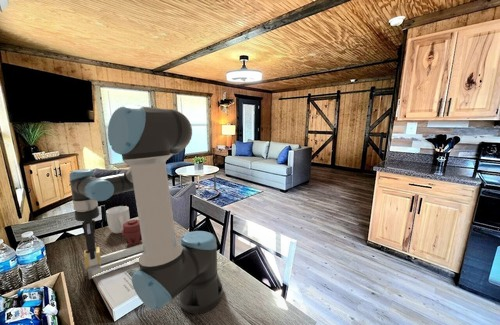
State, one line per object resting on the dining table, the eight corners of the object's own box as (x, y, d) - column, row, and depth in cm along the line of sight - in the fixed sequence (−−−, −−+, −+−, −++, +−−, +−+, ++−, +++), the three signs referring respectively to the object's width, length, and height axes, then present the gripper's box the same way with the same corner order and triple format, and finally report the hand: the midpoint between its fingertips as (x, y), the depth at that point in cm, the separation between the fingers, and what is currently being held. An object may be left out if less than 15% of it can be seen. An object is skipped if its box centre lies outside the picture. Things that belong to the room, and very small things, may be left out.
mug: (135, 233, 118) (133, 211, 116) (112, 240, 110) (109, 217, 108) (127, 224, 128) (125, 204, 126) (106, 230, 121) (104, 209, 119)
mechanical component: (131, 238, 113) (149, 239, 112) (118, 248, 103) (137, 249, 102) (129, 216, 111) (147, 217, 110) (115, 225, 101) (135, 226, 100)
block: (101, 263, 86) (99, 252, 85) (85, 268, 83) (84, 256, 82) (100, 257, 90) (99, 246, 89) (86, 261, 87) (84, 250, 86)
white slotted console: (147, 259, 94) (146, 251, 94) (89, 279, 82) (87, 270, 81) (142, 249, 102) (142, 242, 101) (89, 266, 89) (87, 258, 89)
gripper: (99, 213, 77) (105, 269, 81) (97, 200, 92) (103, 248, 95) (72, 218, 73) (81, 277, 77) (75, 203, 87) (82, 254, 91)
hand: (93, 261), depth 86 cm, fingers closed on block, 5 cm apart
